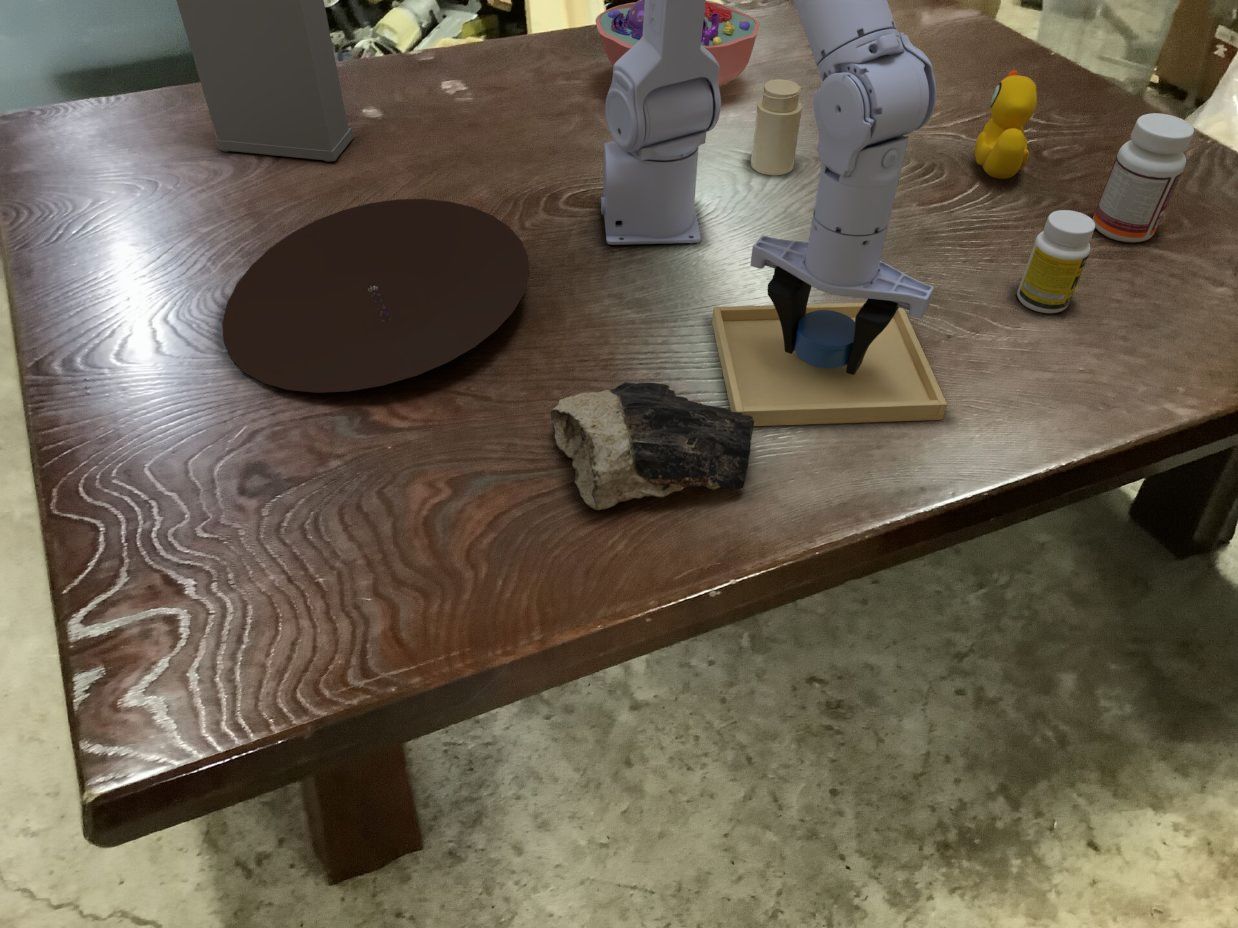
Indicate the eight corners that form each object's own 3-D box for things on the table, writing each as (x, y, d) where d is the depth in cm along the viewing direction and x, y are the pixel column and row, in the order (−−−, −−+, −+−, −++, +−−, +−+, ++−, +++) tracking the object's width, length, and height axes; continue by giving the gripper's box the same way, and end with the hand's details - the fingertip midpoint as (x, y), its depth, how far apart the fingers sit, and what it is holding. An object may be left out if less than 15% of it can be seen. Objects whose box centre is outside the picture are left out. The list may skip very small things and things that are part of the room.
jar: (755, 176, 108) (764, 97, 102) (746, 155, 112) (755, 78, 106) (797, 174, 109) (809, 95, 103) (788, 154, 112) (799, 76, 106)
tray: (734, 427, 79) (736, 411, 78) (711, 321, 89) (713, 306, 88) (942, 419, 80) (947, 404, 79) (897, 316, 90) (900, 301, 89)
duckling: (967, 142, 115) (991, 57, 108) (1015, 147, 114) (1042, 61, 107) (972, 190, 107) (998, 101, 100) (1023, 195, 106) (1053, 106, 99)
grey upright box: (355, 138, 114) (309, -102, 96) (335, 163, 110) (283, -83, 92) (243, 128, 115) (178, -110, 98) (219, 152, 111) (146, -92, 94)
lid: (854, 372, 81) (859, 350, 80) (792, 365, 82) (796, 343, 80) (854, 335, 85) (859, 313, 83) (795, 328, 85) (799, 306, 84)
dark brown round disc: (204, 260, 96) (193, 227, 93) (479, 204, 104) (476, 172, 101) (247, 442, 77) (234, 407, 75) (576, 357, 86) (575, 323, 83)
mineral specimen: (535, 365, 75) (715, 316, 78) (547, 435, 80) (715, 386, 83) (587, 472, 66) (788, 412, 69) (596, 543, 71) (783, 485, 74)
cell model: (759, 121, 118) (770, 25, 110) (593, 118, 118) (592, 22, 110) (748, 63, 130) (757, -28, 122) (597, 61, 130) (597, -30, 122)
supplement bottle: (1071, 318, 90) (1103, 238, 84) (1018, 311, 91) (1046, 232, 85) (1065, 288, 94) (1096, 210, 88) (1013, 282, 94) (1041, 204, 88)
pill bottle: (1125, 209, 104) (1168, 106, 96) (1166, 238, 100) (1215, 134, 92) (1077, 219, 103) (1117, 115, 95) (1118, 249, 99) (1163, 144, 91)
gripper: (960, 218, 74) (920, 358, 84) (783, 170, 79) (764, 307, 89) (932, 262, 70) (893, 405, 79) (747, 208, 75) (731, 349, 85)
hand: (823, 357), depth 84 cm, fingers closed on lid, 5 cm apart
